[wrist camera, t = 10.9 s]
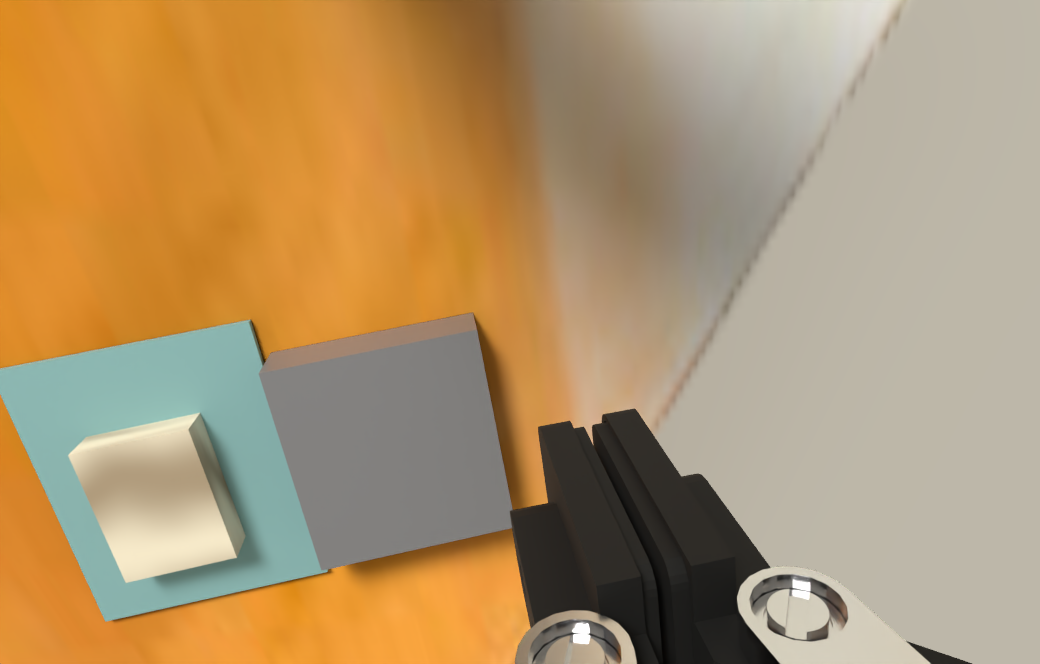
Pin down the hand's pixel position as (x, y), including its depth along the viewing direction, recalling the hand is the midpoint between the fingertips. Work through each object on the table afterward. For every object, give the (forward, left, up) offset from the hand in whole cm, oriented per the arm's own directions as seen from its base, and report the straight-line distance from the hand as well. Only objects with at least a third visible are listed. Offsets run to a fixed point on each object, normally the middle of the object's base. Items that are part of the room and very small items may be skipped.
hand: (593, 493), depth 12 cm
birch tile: (+11, -19, -24) cm, 33 cm away
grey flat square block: (+10, -7, -26) cm, 29 cm away
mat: (+10, -19, -26) cm, 34 cm away
